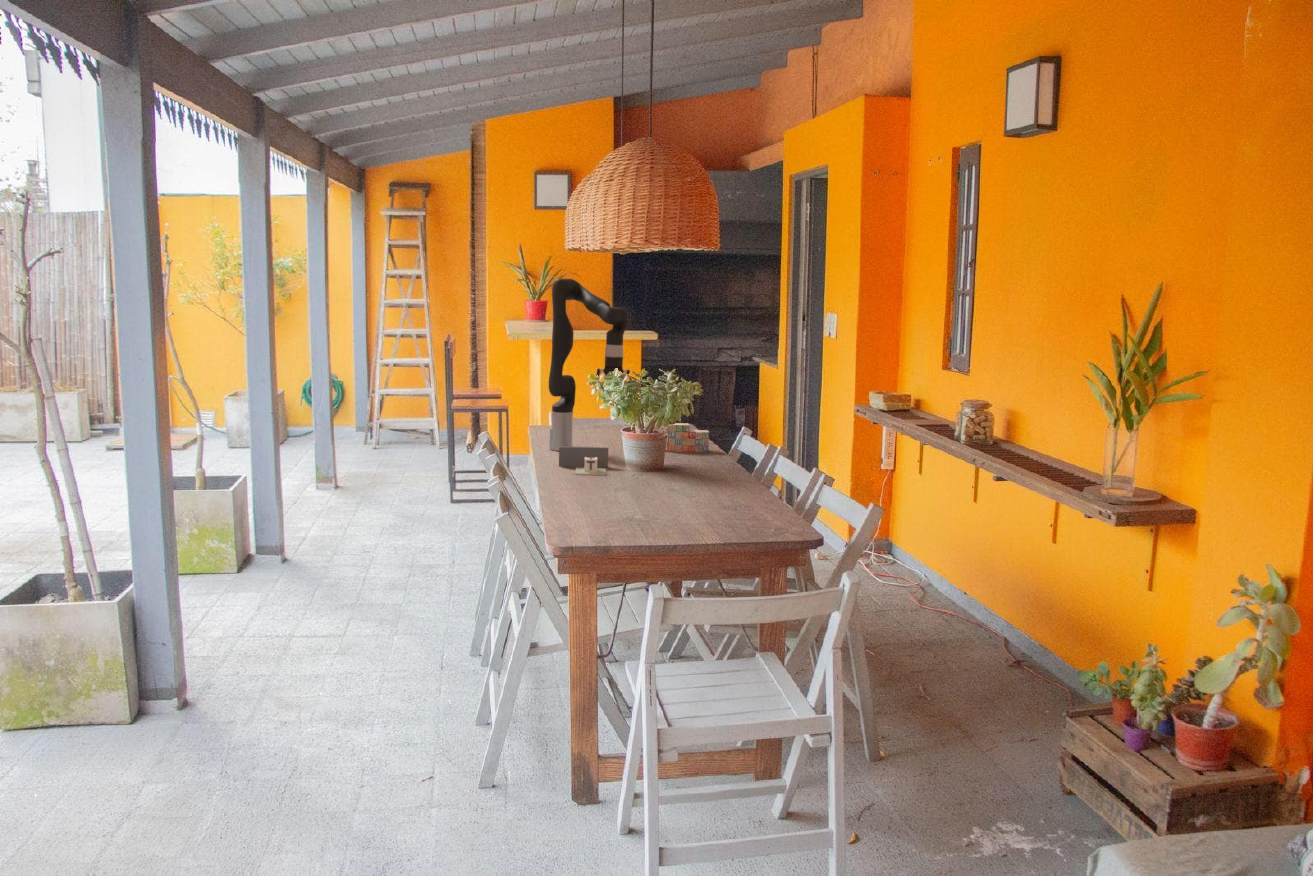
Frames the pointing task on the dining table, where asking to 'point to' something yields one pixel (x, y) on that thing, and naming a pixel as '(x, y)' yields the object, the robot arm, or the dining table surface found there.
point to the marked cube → (590, 464)
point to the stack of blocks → (687, 439)
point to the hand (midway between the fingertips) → (612, 393)
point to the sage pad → (581, 472)
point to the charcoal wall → (582, 456)
